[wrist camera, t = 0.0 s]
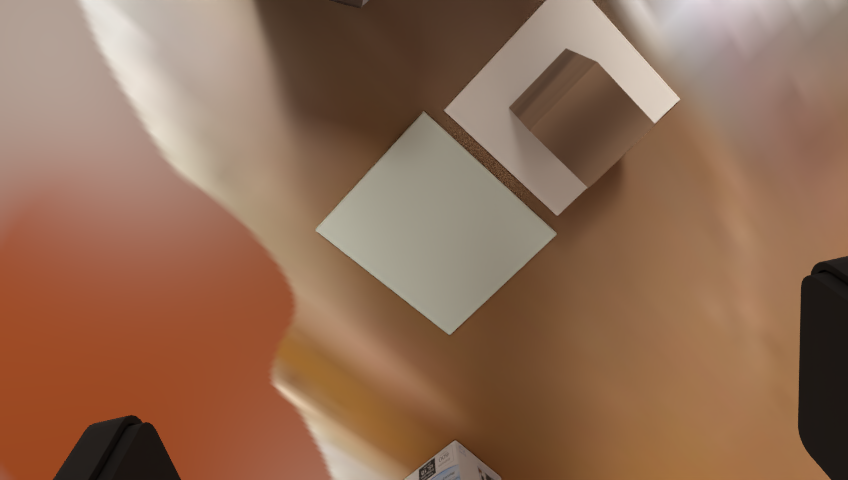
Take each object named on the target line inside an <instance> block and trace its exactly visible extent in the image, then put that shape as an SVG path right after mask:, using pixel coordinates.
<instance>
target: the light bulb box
mask: <svg viewBox="0 0 848 480" xmlns="http://www.w3.org/2000/svg"><path fill="white" fill-rule="evenodd" d="M404 480H501V477H500V476H499V475H498V474H497V473H495V472H494V471H493V470H492V469H490V468H489V467H488V466H487V465H485V464H484V463H483V462H482V461H481V460H479V459H478V458H477V457H476V456H474V455H473V454H472V453H471V452H470V451H468V450H467V449H466V448H465V447H464V446H462V445H461V444H460V443H459V442H457V441H456V440H454V441H453V442H452V443H450V444H449V445H448V446H446V447H445V448H444V449H443V450H441V451H440V452H439V453H437V454H436V455H435V456H434V457H432V458H431V459H430V460H428V461H427V462H426V463H424V464H423V465H422V466H421V467H419V468H418V469H417V470H415V471H414V472H413V473H412V474H410V475H409V476H408V477H406V478H405V479H404Z"/></svg>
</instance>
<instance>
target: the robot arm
mask: <svg viewBox="0 0 848 480" xmlns="http://www.w3.org/2000/svg"><path fill="white" fill-rule="evenodd" d="M798 430H799V435H800V438H801V441H802V443H803V445H804V447H805V449H806V450H807V452H808V453H809V454H810V456H811V457H812V458H813V459H814V460H815V461H816V463H817V464H818V465H819V466H820V467H821V468H822V469H823V471H824V472H825V473H826V474H827V475H828V476H829V478H830V479H831V480H848V256H846V257H841V258H837V259H832V260H828V261H823V262H819V263H817V264H816V265H814V267H813V269H812V271H811V275H809V276H806V277H805V278H804V279H803V281H802V285H801V315H800V361H799V407H798ZM53 480H181V479H180V477H179V475H178V473H177V471H176V469H175V467H174V465H173V463H172V461H171V459H170V457H169V455H168V453H167V451H166V449H165V447H164V445H163V443H162V441H161V439H160V437H159V435H158V433H157V431H156V429H155V428H154V427H153V425H152V424H150V423H147V422H145V423H142V421H141V420H140V419H139V418H137V417H136V416H132V415H130V416H125V417H121V418H116V419H112V420H107V421H103V422H99V423H94V424H92V425H90V426H89V427H88V428H87V429H86V430H85V432H84V433H83V435H82V436H81V438H80V439H79V441H78V442H77V444H76V446H75V447H74V449H73V450H72V451H71V453H70V455H69V456H68V458H67V459H66V461H65V462H64V464H63V465H62V467H61V468H60V470H59V471H58V473H57V474H56V476H55V478H54V479H53Z"/></svg>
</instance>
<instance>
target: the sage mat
mask: <svg viewBox="0 0 848 480" xmlns="http://www.w3.org/2000/svg"><path fill="white" fill-rule="evenodd" d="M316 231H317V232H318V233H320V234H321V235H322V236H323V237H325V238H326V239H327V240H329V241H330V242H331V243H332V244H334V245H335V246H336V247H337V248H339V249H340V250H341V251H343V252H344V253H345V254H346V255H348V256H349V257H350V258H351V259H353V260H354V261H355V262H357V263H358V264H359V265H360V266H362V267H363V268H364V269H366V270H367V271H368V272H369V273H371V274H372V275H373V276H374V277H376V278H377V279H378V280H380V281H381V282H382V283H383V284H385V285H386V286H387V287H389V288H390V289H391V290H392V291H394V292H395V293H396V294H397V295H399V296H400V297H401V298H403V299H404V300H405V301H406V302H408V303H409V304H410V305H411V306H413V307H414V308H415V309H417V310H418V311H419V312H420V313H422V314H423V315H424V316H426V317H427V318H428V319H429V320H431V321H432V322H433V323H434V324H436V325H437V326H438V327H440V328H441V329H442V330H443V331H445V332H446V333H447V334H448V335H450V334H451V333H453V332H454V331H455V330H456V329H457V328H458V327H459V326H460V325H461V324H462V323H463V322H464V321H465V320H466V319H467V318H468V317H470V316H471V315H472V314H473V313H474V312H475V311H476V310H477V309H478V308H479V307H480V306H481V305H482V304H483V303H484V302H485V301H487V300H488V299H489V298H490V297H491V296H492V295H493V294H494V293H495V292H496V291H497V290H498V289H499V288H500V287H501V286H503V285H504V284H505V283H506V282H507V281H508V280H509V279H510V278H511V277H512V276H513V275H514V274H515V273H516V272H517V271H518V270H520V269H521V268H522V267H523V266H524V265H525V264H526V263H527V262H528V261H529V260H530V259H531V258H532V257H533V256H534V255H535V254H537V253H538V252H539V251H540V250H541V249H542V248H543V247H544V246H545V245H546V244H547V243H548V242H549V241H550V240H551V239H552V238H554V237H555V236H556V235H557V233H556V232H555V231H554V230H553V229H552V228H551V227H550V226H548V225H547V224H546V223H545V222H544V221H543V220H542V219H541V218H540V217H539V216H538V215H536V214H535V213H534V212H533V211H532V210H531V209H530V208H529V207H528V206H527V205H526V204H524V203H523V202H522V201H521V200H520V199H519V198H518V197H517V196H516V195H515V194H514V193H513V192H511V191H510V190H509V189H508V188H507V187H506V186H505V185H504V184H503V183H502V182H501V181H499V180H498V179H497V178H496V177H495V176H494V175H493V174H492V173H491V172H490V171H489V170H488V169H486V168H485V167H484V166H483V165H482V164H481V163H480V162H479V161H478V160H477V159H476V158H474V157H473V156H472V155H471V154H470V153H469V152H468V151H467V150H466V149H465V148H464V147H462V146H461V145H460V144H459V143H458V142H457V141H456V140H455V139H454V138H453V137H452V136H451V135H449V134H448V133H447V132H446V131H445V130H444V129H443V128H442V127H441V126H440V125H439V124H437V123H436V122H435V121H434V120H433V119H432V118H431V117H430V116H429V115H428V114H427V113H426V112H424V111H423V112H422V114H421V115H420V116H419V117H418V118H417V119H416V120H415V121H414V122H413V123H412V124H411V126H410V127H409V128H408V129H407V130H406V131H405V132H404V133H403V134H402V135H401V136H400V137H399V139H398V140H397V141H396V142H395V143H394V144H393V145H392V146H391V147H390V148H389V149H388V151H387V152H386V153H385V154H384V155H383V156H382V157H381V158H380V159H379V160H378V161H377V163H376V164H375V165H374V166H373V167H372V168H371V169H370V170H369V171H368V172H367V173H366V175H365V176H364V177H363V178H362V179H361V180H360V181H359V182H358V183H357V184H356V185H355V186H354V188H353V189H352V190H351V191H350V192H349V193H348V194H347V195H346V196H345V197H344V198H343V200H342V201H341V202H340V203H339V204H338V205H337V206H336V207H335V208H334V209H333V210H332V212H331V213H330V214H329V215H328V216H327V217H326V218H325V219H324V220H323V221H322V222H321V223H320V225H319V226H318V227H317V228H316Z"/></svg>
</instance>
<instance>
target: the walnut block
mask: <svg viewBox="0 0 848 480" xmlns="http://www.w3.org/2000/svg"><path fill="white" fill-rule="evenodd" d="M509 108H510V110H511V111H512V112H513V113H514V114H515V115H516V116H517V117H518V119H519V120H520V121H521V122H522V123H523V124H524V125H525V126H526V128H527V129H528V130H529V131H530V132H531V133H532V134H533V135H534V136H535V137H536V138H537V139H538V140H539V141H540V142H541V143H542V144H543V145H544V146H545V147H546V148H548V149H549V150H550V151H551V152H552V153H553V154H554V155H555V156H556V157H557V158H558V159H559V160H560V161H561V162H562V163H563V164H564V165H565V166H566V167H567V168H568V169H569V170H570V171H571V172H572V173H573V174H574V175H575V176H576V177H577V178H578V179H579V180H580V181H581V182H582V183H583V184H584V185H585V186H587V187H588V188H589V187H590V186H592V185H593V184H594V183H595V182H596V181H597V180H598V179H599V178H600V177H601V176H602V175H603V174H604V173H605V172H606V171H607V170H608V169H609V168H610V167H612V166H613V165H614V164H615V163H616V162H617V161H618V160H619V159H620V158H621V157H622V156H623V155H624V154H625V153H626V152H627V151H628V150H629V149H631V148H632V147H633V146H634V145H635V144H636V143H637V142H638V141H639V140H640V139H641V138H642V137H643V136H644V135H645V134H646V133H647V132H648V131H649V130H651V129H652V128H653V127H654V126H655V125H656V124H655V123H654V122H653V121H652V120H651V119H650V118H649V117H648V116H647V115H646V114H645V113H644V111H643V110H642V109H641V108H640V107H639V106H638V105H637V104H636V103H635V102H634V101H633V100H632V99H631V97H630V96H629V95H628V94H627V93H626V92H625V91H624V90H623V89H622V88H621V87H620V86H619V85H618V83H617V82H616V81H615V80H614V79H613V78H612V77H611V76H610V75H609V74H608V73H607V72H606V71H605V69H604V68H603V67H602V66H601V65H600V64H599V63H598V62H597V61H594V60H592V59H590V58H587V57H585V56H583V55H581V54H578V53H576V52H574V51H571V50H569V49H567V48H566V49H565V50H564V51H563V52H562V53H561V54H560V55H559V56H558V57H557V58H556V59H555V60H554V61H553V62H552V63H551V64H550V65H549V66H548V67H547V68H546V69H545V70H544V71H543V73H542V74H541V75H540V76H539V77H538V78H537V79H536V80H535V81H534V82H533V83H532V84H531V85H530V86H529V87H528V88H527V89H526V90H525V91H524V92H523V93H522V94H521V95H520V96H519V97H518V98H517V100H516V101H515V102H514V103H513V104H512V105H511V106H510V107H509Z"/></svg>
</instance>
